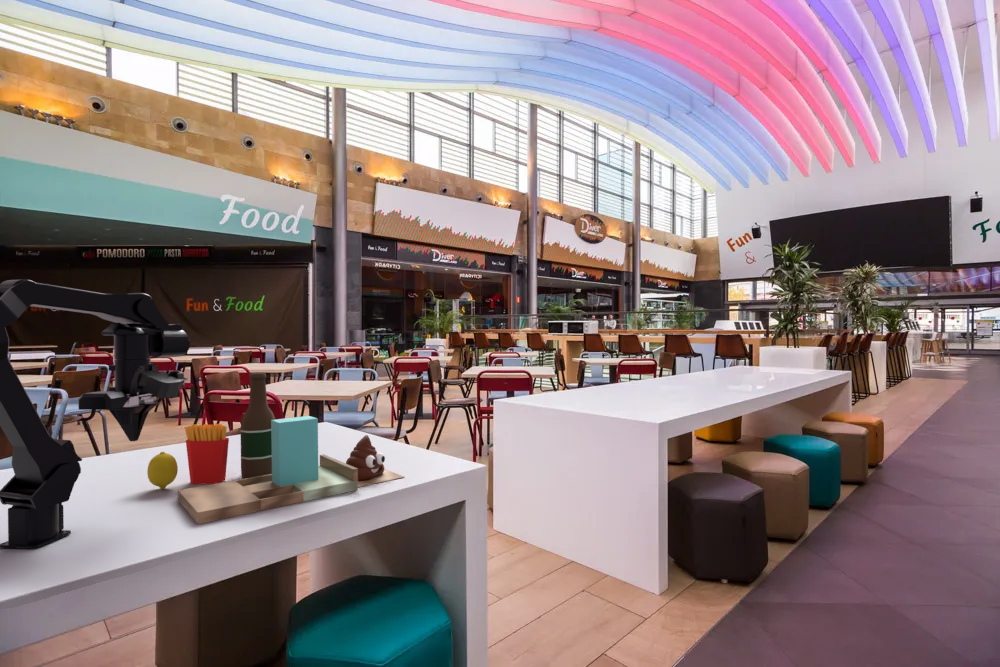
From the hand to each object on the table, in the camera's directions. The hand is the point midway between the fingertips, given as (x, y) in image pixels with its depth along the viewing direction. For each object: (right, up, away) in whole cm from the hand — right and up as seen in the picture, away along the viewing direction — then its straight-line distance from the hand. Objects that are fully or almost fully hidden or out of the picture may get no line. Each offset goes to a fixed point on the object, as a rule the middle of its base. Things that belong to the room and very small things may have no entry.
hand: (133, 440), depth 102 cm
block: (+26, -11, +11) cm, 31 cm away
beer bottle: (+13, -13, +24) cm, 30 cm away
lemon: (-3, -13, +13) cm, 19 cm away
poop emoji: (+39, -13, +21) cm, 46 cm away
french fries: (+4, -13, +19) cm, 23 cm away
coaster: (+39, -13, +21) cm, 46 cm away
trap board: (+23, -13, +8) cm, 27 cm away
